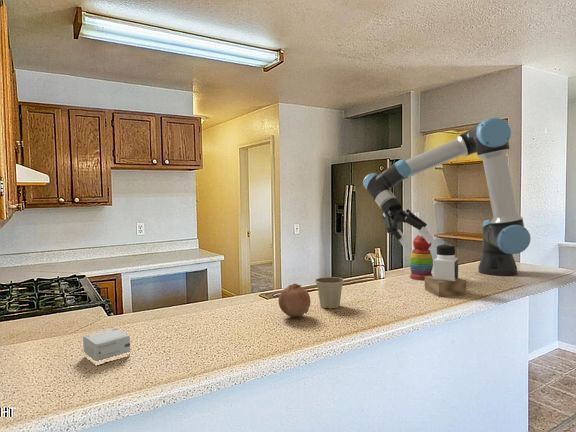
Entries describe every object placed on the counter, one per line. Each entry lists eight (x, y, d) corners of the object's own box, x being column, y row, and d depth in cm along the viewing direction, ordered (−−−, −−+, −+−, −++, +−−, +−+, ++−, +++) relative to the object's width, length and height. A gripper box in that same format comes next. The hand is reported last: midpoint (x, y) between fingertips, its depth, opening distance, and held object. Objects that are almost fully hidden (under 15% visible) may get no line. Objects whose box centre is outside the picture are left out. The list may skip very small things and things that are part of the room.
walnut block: (450, 288, 150) (450, 275, 150) (465, 294, 141) (465, 280, 140) (424, 290, 149) (424, 276, 149) (438, 296, 139) (438, 282, 139)
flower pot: (350, 305, 131) (350, 279, 130) (333, 312, 124) (332, 284, 123) (327, 301, 137) (326, 275, 137) (309, 307, 130) (308, 280, 130)
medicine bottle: (455, 281, 139) (454, 246, 138) (433, 279, 143) (433, 245, 142) (458, 277, 145) (458, 244, 145) (437, 276, 149) (437, 243, 148)
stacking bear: (438, 280, 165) (438, 236, 164) (413, 280, 165) (413, 237, 164) (430, 275, 175) (429, 234, 174) (406, 275, 176) (406, 234, 175)
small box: (96, 367, 88) (94, 344, 88) (83, 357, 94) (82, 336, 93) (131, 356, 94) (130, 335, 93) (117, 348, 99) (116, 327, 99)
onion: (294, 311, 126) (294, 279, 126) (317, 316, 120) (316, 283, 119) (272, 318, 120) (271, 284, 119) (295, 324, 113) (294, 289, 112)
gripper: (405, 208, 174) (435, 246, 162) (361, 212, 161) (390, 253, 149) (414, 195, 169) (446, 233, 157) (370, 198, 156) (401, 239, 144)
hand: (419, 243), depth 153 cm, fingers open, 13 cm apart
